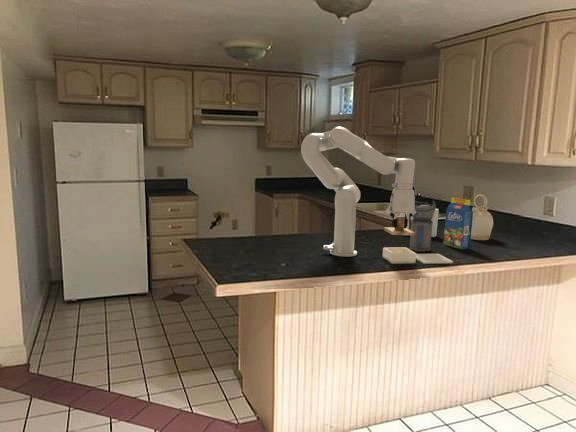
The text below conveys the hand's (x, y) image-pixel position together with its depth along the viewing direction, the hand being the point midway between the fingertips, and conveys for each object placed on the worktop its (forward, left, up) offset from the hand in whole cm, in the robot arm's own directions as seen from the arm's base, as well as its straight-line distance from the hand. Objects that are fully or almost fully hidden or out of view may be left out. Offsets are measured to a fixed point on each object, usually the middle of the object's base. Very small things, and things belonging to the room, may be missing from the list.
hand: (399, 227), depth 207 cm
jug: (+67, +44, -15) cm, 81 cm away
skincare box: (+36, +55, -15) cm, 67 cm away
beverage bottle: (+19, +18, -15) cm, 30 cm away
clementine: (+1, 0, -14) cm, 14 cm away
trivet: (+17, 0, -15) cm, 22 cm away
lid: (0, 0, -2) cm, 2 cm away
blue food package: (+43, +24, -15) cm, 51 cm away
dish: (+1, 0, -15) cm, 15 cm away
